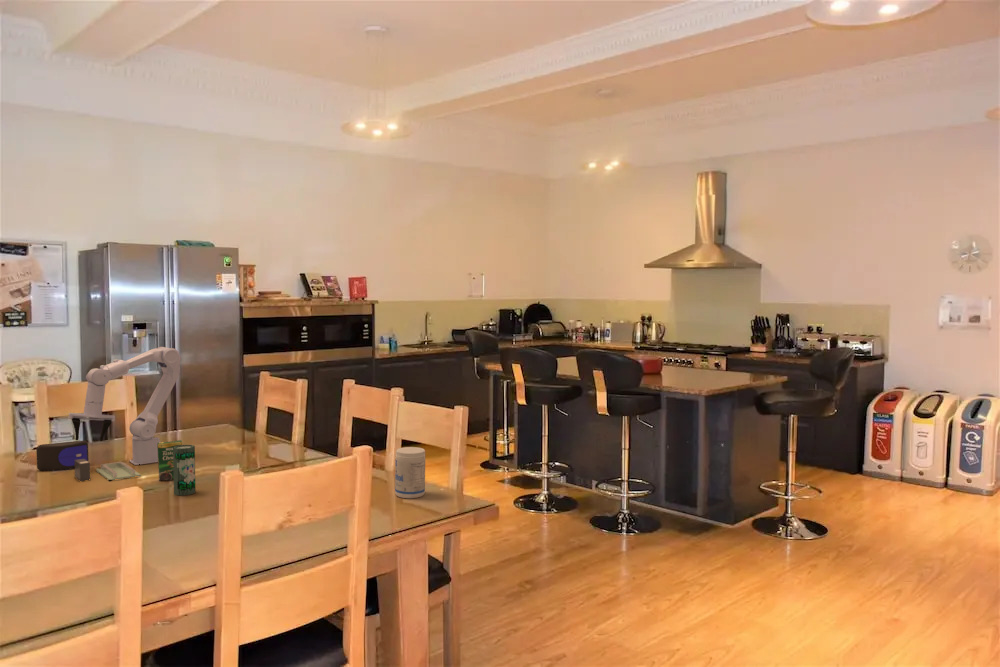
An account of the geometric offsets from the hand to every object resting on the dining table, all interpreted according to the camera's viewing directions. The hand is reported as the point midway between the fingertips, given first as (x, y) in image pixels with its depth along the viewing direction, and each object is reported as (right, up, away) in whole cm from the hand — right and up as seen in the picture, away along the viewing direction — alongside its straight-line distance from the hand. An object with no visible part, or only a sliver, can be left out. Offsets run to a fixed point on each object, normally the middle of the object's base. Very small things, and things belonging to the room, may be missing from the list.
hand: (88, 440), depth 273 cm
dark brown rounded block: (-11, -11, +4) cm, 16 cm away
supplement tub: (+117, -14, -27) cm, 121 cm away
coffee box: (+34, -12, -10) cm, 37 cm away
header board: (+12, -11, -4) cm, 17 cm away
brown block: (+3, -12, -10) cm, 16 cm away
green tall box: (+45, -13, -27) cm, 54 cm away
